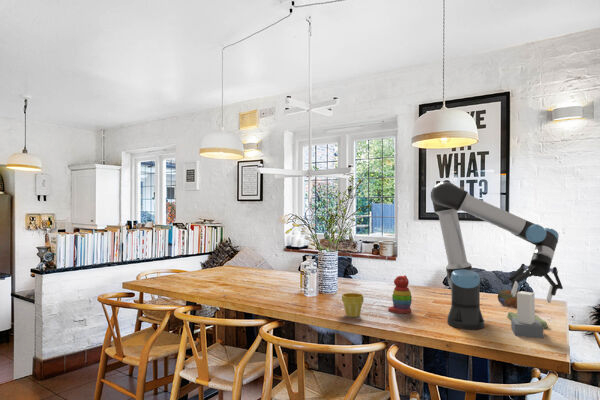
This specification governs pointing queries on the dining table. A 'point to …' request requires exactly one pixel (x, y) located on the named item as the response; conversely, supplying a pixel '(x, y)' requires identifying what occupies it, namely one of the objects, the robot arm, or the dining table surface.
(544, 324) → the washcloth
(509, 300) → the brown flat oval
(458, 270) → the robot arm
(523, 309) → the cream block
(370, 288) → the dining table surface
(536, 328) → the charcoal base block
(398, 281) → the stacking bear
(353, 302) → the plant pot
